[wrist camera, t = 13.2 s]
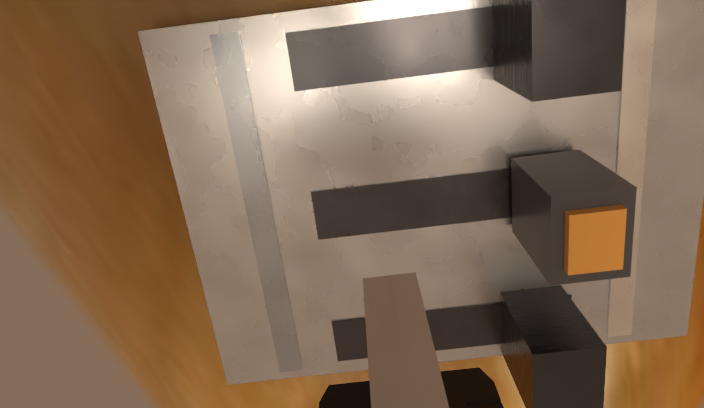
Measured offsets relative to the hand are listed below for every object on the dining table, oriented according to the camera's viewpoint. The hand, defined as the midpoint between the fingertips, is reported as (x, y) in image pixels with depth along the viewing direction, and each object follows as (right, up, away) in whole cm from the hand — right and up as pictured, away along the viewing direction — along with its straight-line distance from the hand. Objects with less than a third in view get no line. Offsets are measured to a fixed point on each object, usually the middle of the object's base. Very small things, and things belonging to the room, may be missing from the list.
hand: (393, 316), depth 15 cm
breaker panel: (+3, +4, +11) cm, 12 cm away
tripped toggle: (+8, +4, +9) cm, 12 cm away
